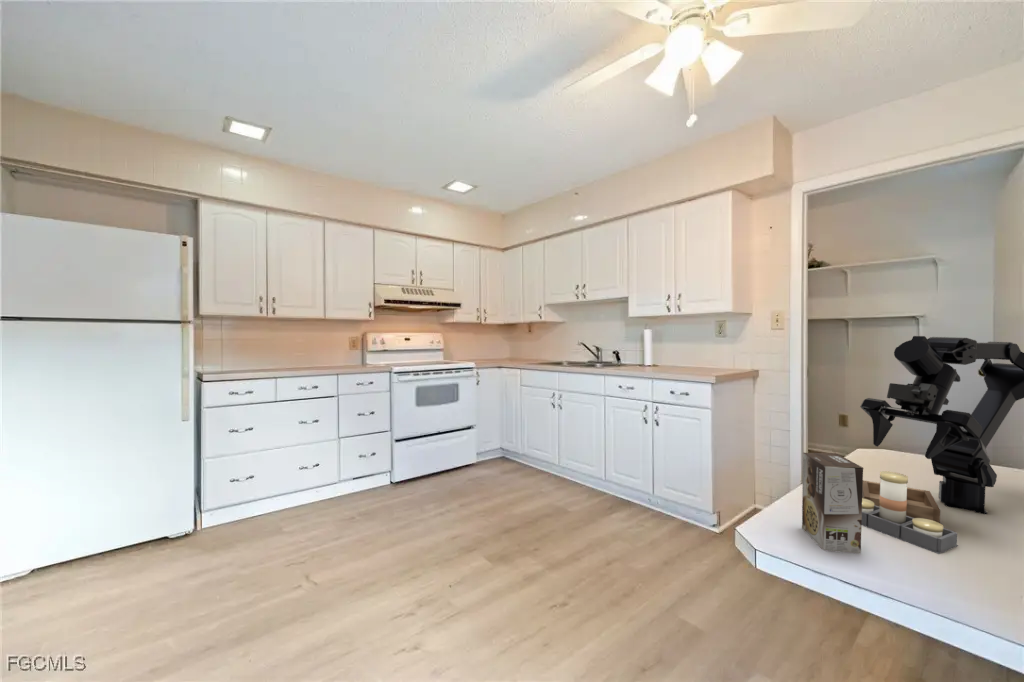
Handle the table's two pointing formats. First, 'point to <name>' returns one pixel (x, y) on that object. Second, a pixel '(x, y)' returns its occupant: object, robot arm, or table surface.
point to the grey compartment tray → (910, 532)
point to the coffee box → (832, 501)
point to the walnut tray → (917, 501)
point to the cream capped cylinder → (893, 497)
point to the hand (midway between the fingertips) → (900, 451)
